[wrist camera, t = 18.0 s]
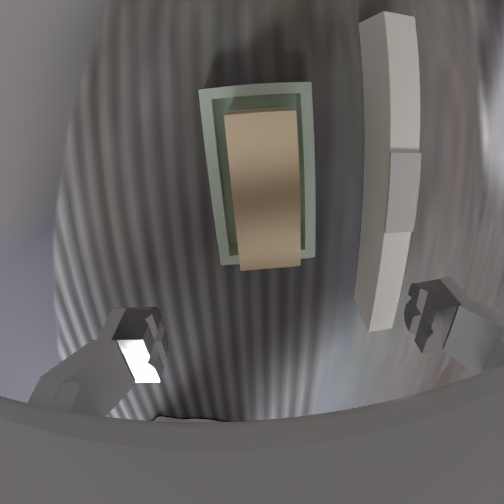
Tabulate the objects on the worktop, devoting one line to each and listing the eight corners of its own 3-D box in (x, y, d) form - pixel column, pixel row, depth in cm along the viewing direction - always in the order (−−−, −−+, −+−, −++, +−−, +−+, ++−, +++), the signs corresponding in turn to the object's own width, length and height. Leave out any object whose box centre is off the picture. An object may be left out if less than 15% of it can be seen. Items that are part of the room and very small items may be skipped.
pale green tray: (308, 241, 28) (315, 257, 25) (222, 249, 28) (220, 265, 25) (303, 83, 21) (311, 81, 19) (203, 90, 21) (198, 89, 19)
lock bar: (228, 110, 21) (224, 115, 16) (282, 106, 21) (296, 110, 16) (240, 232, 26) (240, 271, 21) (288, 228, 26) (300, 265, 21)
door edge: (375, 296, 31) (393, 330, 26) (353, 299, 31) (369, 334, 26) (385, 27, 19) (417, 16, 14) (357, 23, 19) (385, 10, 14)
